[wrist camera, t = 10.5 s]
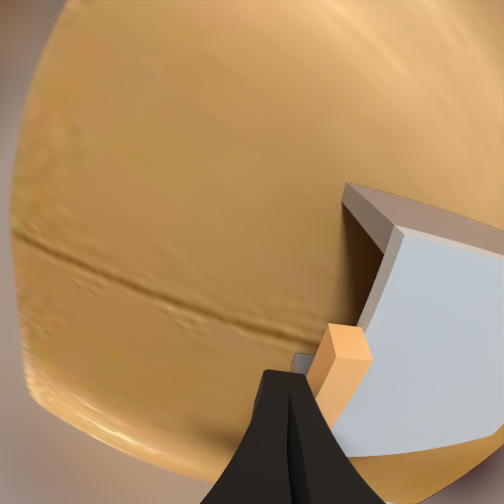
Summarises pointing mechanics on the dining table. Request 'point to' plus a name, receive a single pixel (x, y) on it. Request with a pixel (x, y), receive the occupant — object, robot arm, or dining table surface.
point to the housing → (413, 217)
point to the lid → (417, 352)
